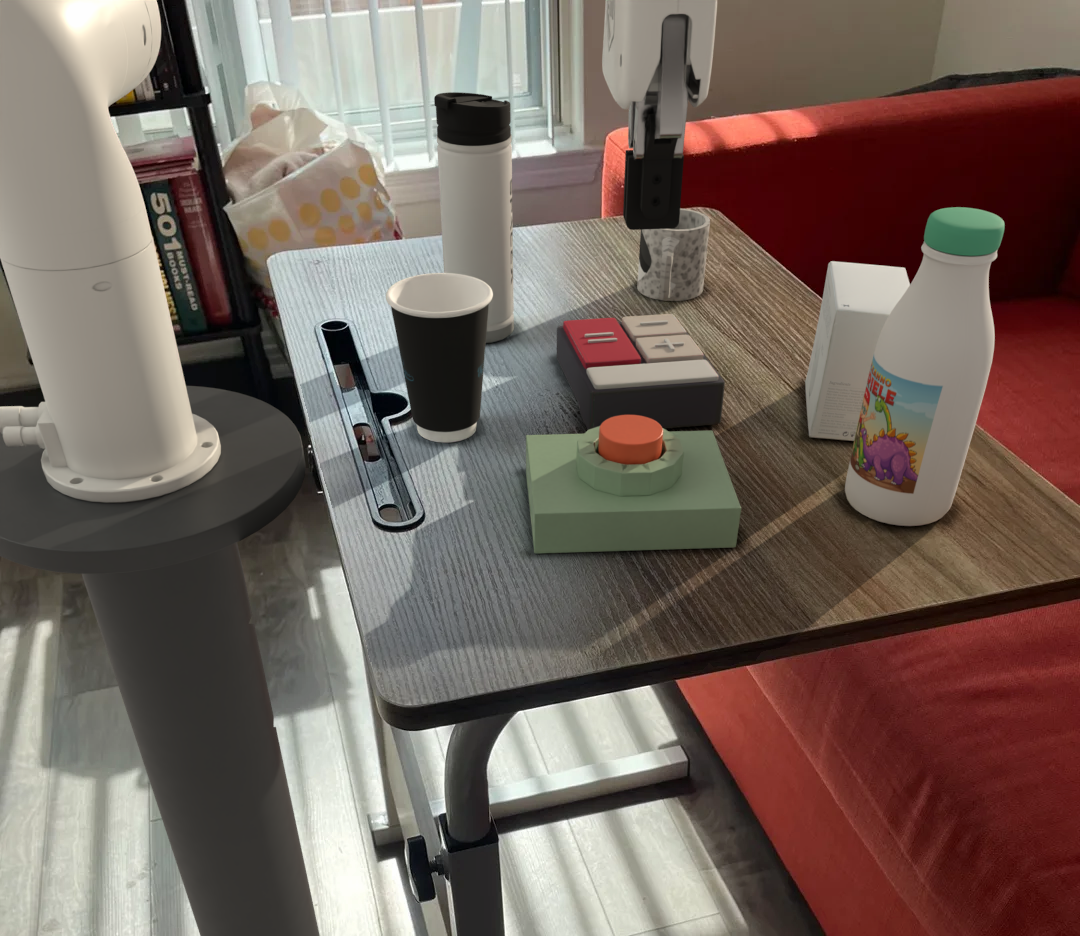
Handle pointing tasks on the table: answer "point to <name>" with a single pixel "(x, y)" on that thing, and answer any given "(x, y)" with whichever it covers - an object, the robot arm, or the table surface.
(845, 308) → the cosmetics box
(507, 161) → the travel mug
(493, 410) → the table surface
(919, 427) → the milk bottle
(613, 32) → the robot arm
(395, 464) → the table surface
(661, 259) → the mug
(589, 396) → the calculator
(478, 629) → the table surface
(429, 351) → the dixie cup
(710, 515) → the button housing
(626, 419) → the push button
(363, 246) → the table surface
